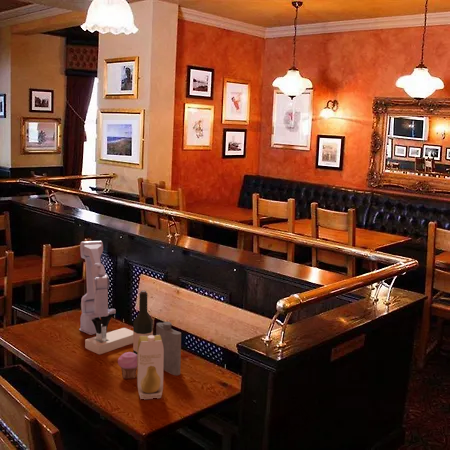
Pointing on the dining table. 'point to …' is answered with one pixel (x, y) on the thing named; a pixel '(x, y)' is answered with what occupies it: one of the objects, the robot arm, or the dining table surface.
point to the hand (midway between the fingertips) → (101, 332)
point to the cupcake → (128, 364)
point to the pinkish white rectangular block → (101, 336)
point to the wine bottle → (142, 321)
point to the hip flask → (170, 347)
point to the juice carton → (150, 366)
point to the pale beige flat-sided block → (110, 341)
